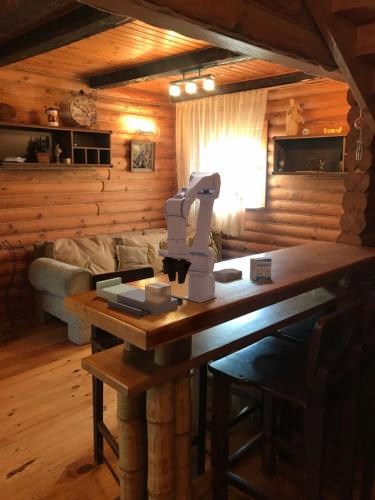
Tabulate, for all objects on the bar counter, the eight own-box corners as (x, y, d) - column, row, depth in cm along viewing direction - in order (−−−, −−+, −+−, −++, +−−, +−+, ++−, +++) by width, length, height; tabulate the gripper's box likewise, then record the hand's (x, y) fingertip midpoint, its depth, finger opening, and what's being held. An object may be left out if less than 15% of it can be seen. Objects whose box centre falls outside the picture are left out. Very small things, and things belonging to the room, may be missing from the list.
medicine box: (255, 280, 176) (256, 260, 174) (249, 278, 180) (249, 258, 178) (271, 278, 179) (272, 258, 177) (265, 276, 183) (265, 256, 181)
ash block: (158, 296, 143) (158, 281, 142) (171, 299, 139) (171, 284, 138) (144, 300, 139) (144, 285, 138) (157, 303, 135) (157, 288, 134)
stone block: (207, 283, 180) (225, 282, 172) (206, 271, 179) (224, 270, 172) (226, 279, 188) (244, 278, 180) (225, 268, 188) (243, 267, 180)
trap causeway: (128, 288, 164) (128, 275, 163) (187, 304, 144) (187, 290, 143) (86, 298, 150) (85, 284, 150) (144, 318, 130) (144, 303, 129)
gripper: (150, 237, 132) (151, 280, 134) (185, 242, 122) (185, 289, 124) (167, 234, 137) (167, 276, 139) (201, 239, 127) (201, 284, 129)
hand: (177, 282), depth 132 cm, fingers open, 3 cm apart
